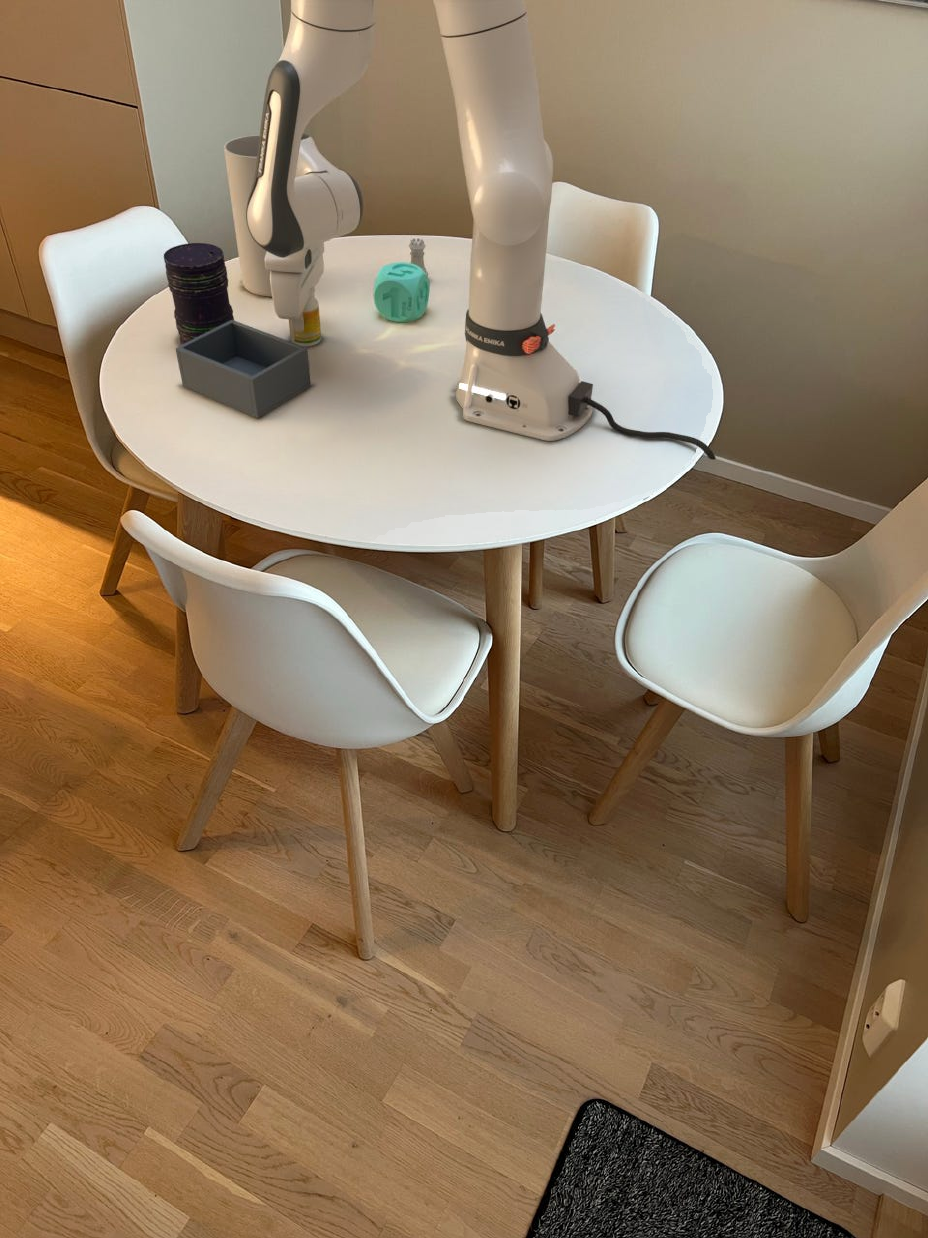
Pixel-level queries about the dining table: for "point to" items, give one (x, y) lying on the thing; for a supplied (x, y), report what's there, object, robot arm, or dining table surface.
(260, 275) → the cylinder vase
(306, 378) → the box shelf
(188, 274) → the dark barrel
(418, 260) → the rook chess piece
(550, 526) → the dining table surface
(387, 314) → the decorative dice
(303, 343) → the supplement bottle
